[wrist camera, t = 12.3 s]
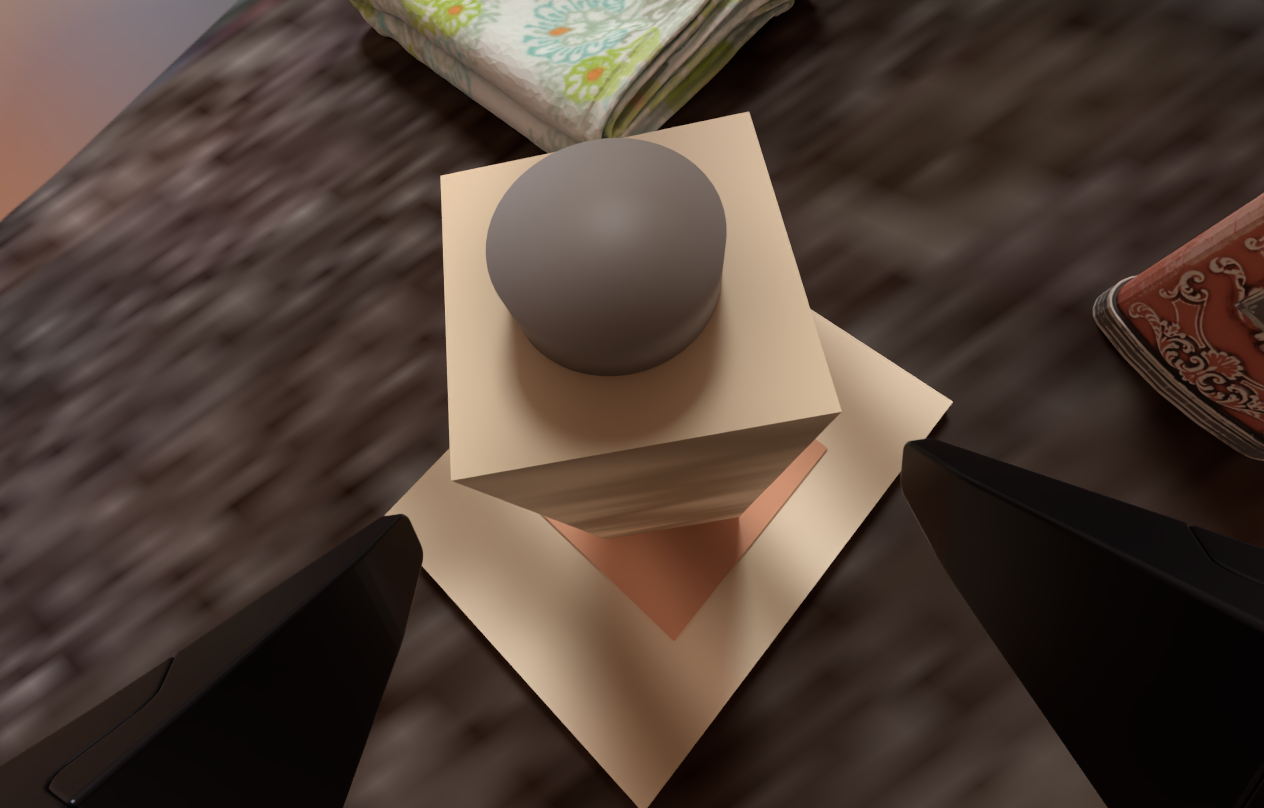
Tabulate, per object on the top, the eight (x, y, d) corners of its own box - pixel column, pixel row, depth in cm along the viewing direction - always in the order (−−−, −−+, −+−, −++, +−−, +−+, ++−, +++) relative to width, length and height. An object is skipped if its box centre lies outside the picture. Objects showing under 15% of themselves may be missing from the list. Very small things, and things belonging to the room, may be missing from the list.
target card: (644, 804, 17) (643, 814, 16) (389, 521, 20) (379, 519, 20) (945, 406, 20) (954, 401, 19) (671, 227, 24) (671, 217, 23)
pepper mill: (606, 539, 19) (409, 465, 5) (589, 413, 20) (408, 123, 7) (739, 517, 18) (870, 382, 5) (711, 391, 20) (757, 48, 7)
